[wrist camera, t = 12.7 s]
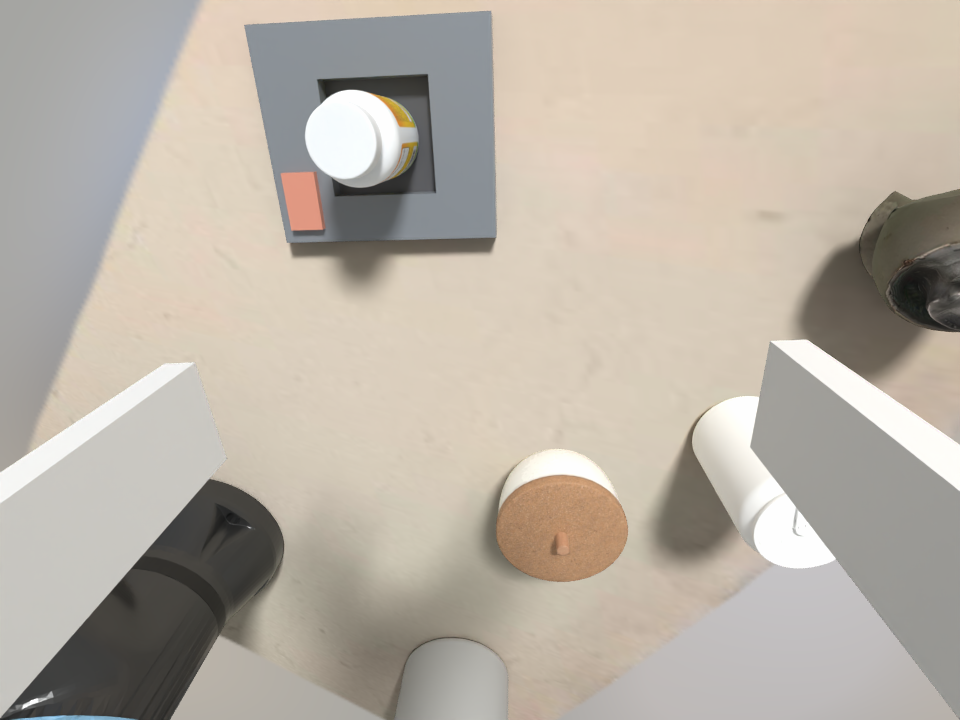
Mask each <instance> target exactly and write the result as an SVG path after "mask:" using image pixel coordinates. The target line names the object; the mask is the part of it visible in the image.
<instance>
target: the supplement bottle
mask: <svg viewBox="0 0 960 720" xmlns="http://www.w3.org/2000/svg"><path fill="white" fill-rule="evenodd" d="M305 141H306V146H307V150H308V152H309V155H310V157H311V159H312V160H313V162H314V163H315V164H316V166H317V167H318V168H319V169H320V170H321V171H323V172H324V173H325V174H327V175H329V176H331V177H332V178H333V179H335V180H336V181H338V182H339V183H342V184H344V185H347V186H350V187H357V188H364V187H370V186H374V185H377V184H379V183H382V182H384V181H387V180H390V179H392V178H395V177H397V176H399V175H401V174H402V173H404V172H405V171H406V170H407V169H408V168H409V167H410V166H411V165H412V163H413V162H414V160H415V158H416V155H417V152H418V147H419V135H418V130H417V127H416V124H415V122H414V120H413V118H412V116H411V115H410V113H409V112H408V111H407V110H406V109H405V108H404V107H403V106H402V105H401V104H399V103H398V102H396V101H394V100H392V99H390V98H387V97H383V96H379V95H375V94H372V93H368V92H364V91H359V90H344V91H340V92H337V93H335V94H333V95H331V96H330V97H328V98H327V99H326V100H325V101H324V102H323V103H322V104H321V105H320V106H319V107H317V108H316V109H315V110H314V111H313V112H312V114H311V115H310V117H309V119H308V122H307V125H306V129H305Z"/></svg>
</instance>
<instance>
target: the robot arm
mask: <svg viewBox="0 0 960 720" xmlns="http://www.w3.org/2000/svg"><path fill="white" fill-rule="evenodd" d="M750 448H751V449H752V451H753V452H754V453H755V454H756V456H757V457H758V458H759V460H760V461H761V462H762V464H763V465H764V466H765V467H766V469H767V470H768V471H769V473H770V474H771V475H772V477H773V478H774V479H775V480H776V482H777V483H778V484H779V486H780V487H781V488H782V490H783V491H784V492H785V493H786V495H787V496H788V497H789V499H790V500H791V501H792V503H793V504H794V505H795V506H796V508H797V509H798V510H799V512H800V513H801V514H802V516H803V517H804V518H805V519H806V521H807V522H808V523H809V525H810V526H811V527H812V529H813V530H814V531H815V532H816V534H817V535H818V536H819V538H820V539H821V540H822V542H823V543H824V544H825V545H826V547H827V548H828V549H829V551H830V552H831V553H832V555H833V556H834V557H835V558H836V560H837V561H838V562H839V564H840V565H841V566H842V567H843V569H844V570H845V571H846V573H847V574H848V575H849V577H850V578H851V579H852V580H853V582H854V583H855V584H856V586H857V587H858V588H859V590H860V591H861V592H862V594H863V595H864V596H865V597H866V599H867V600H868V601H869V603H870V604H871V605H872V606H873V608H874V609H875V610H876V612H877V613H878V614H879V616H880V617H881V618H882V620H883V621H884V622H885V623H886V625H887V626H888V627H889V629H890V630H891V631H892V632H893V634H894V635H895V636H896V638H897V639H898V640H899V642H900V643H901V644H902V645H903V647H904V648H905V649H906V651H907V652H908V653H909V654H910V656H911V657H912V659H913V660H914V661H915V662H916V664H917V665H918V666H919V668H920V669H921V670H922V672H923V673H924V674H925V675H926V677H927V678H928V679H929V681H930V682H931V683H932V685H933V686H934V687H935V688H936V690H937V691H938V692H939V694H940V695H941V696H942V697H943V699H944V700H945V701H946V703H947V704H948V705H949V707H950V708H951V709H952V711H953V712H954V713H955V714H956V716H957V717H958V718H959V720H960V445H959V444H958V443H956V442H955V441H953V440H952V439H951V438H949V437H948V436H946V435H945V434H943V433H942V432H940V431H939V430H938V429H936V428H935V427H933V426H932V425H930V424H929V423H927V422H926V421H924V420H923V419H922V418H920V417H919V416H917V415H916V414H914V413H913V412H911V411H910V410H908V409H907V408H906V407H904V406H903V405H901V404H900V403H898V402H897V401H895V400H894V399H892V398H891V397H890V396H888V395H887V394H885V393H884V392H882V391H881V390H879V389H878V388H877V387H875V386H874V385H872V384H871V383H869V382H868V381H866V380H865V379H863V378H862V377H861V376H859V375H858V374H856V373H855V372H853V371H852V370H850V369H849V368H847V367H846V366H845V365H843V364H842V363H840V362H839V361H837V360H836V359H834V358H833V357H832V356H830V355H829V354H827V353H826V352H824V351H823V350H821V349H820V348H818V347H817V346H816V345H814V344H813V343H811V342H810V341H808V340H782V341H770V344H769V349H768V354H767V360H766V365H765V370H764V376H763V381H762V386H761V391H760V397H759V402H758V407H757V412H756V418H755V423H754V428H753V434H752V439H751V444H750ZM226 459H227V457H226V454H225V451H224V448H223V445H222V442H221V439H220V436H219V433H218V430H217V427H216V424H215V421H214V418H213V415H212V412H211V409H210V406H209V403H208V400H207V397H206V394H205V391H204V388H203V385H202V382H201V379H200V376H199V373H198V370H197V367H196V364H195V363H169V364H163V365H162V366H160V367H159V368H157V369H156V370H154V371H153V372H151V373H150V374H148V375H147V376H145V377H144V378H142V379H141V380H139V381H138V382H136V383H135V384H133V385H132V386H130V387H129V388H127V389H126V390H124V391H123V392H121V393H120V394H118V395H117V396H115V397H114V398H112V399H111V400H109V401H107V402H106V403H104V404H103V405H101V406H100V407H98V408H97V409H95V410H94V411H92V412H91V413H89V414H88V415H86V416H85V417H83V418H82V419H80V420H79V421H77V422H76V423H74V424H73V425H71V426H70V427H68V428H67V429H65V430H64V431H62V432H61V433H59V434H58V435H56V436H55V437H53V438H52V439H50V440H49V441H47V442H46V443H44V444H43V445H41V446H40V447H38V448H37V449H35V450H34V451H32V452H31V453H29V454H28V455H26V456H25V457H23V458H21V459H20V460H18V461H17V462H15V463H14V464H12V465H11V466H10V467H8V468H7V469H5V470H4V471H2V472H0V720H170V719H171V717H172V715H173V714H174V712H175V710H176V708H177V707H178V705H179V703H180V701H181V700H182V698H183V696H184V695H185V693H186V691H187V689H188V687H189V686H190V684H191V682H192V681H193V679H194V677H195V675H196V674H197V672H198V670H199V669H200V667H201V665H202V663H203V662H204V660H205V658H206V656H207V655H208V653H209V651H210V649H211V648H212V646H213V644H214V643H215V640H216V639H217V637H218V636H219V634H220V632H221V631H222V629H223V627H224V625H225V624H226V622H227V621H228V620H229V619H230V618H231V617H233V616H234V615H235V614H236V613H237V612H238V611H239V610H240V609H241V608H242V607H243V606H244V605H245V604H246V603H247V602H248V601H249V600H250V599H251V598H252V597H253V596H254V595H256V594H257V593H258V592H260V591H261V590H262V589H263V588H264V587H265V586H266V585H267V584H268V582H269V581H270V580H271V578H272V576H273V575H274V573H275V571H276V569H277V567H278V565H279V564H280V562H281V559H282V556H283V549H284V544H283V538H282V534H281V531H280V529H279V527H278V525H277V523H276V521H275V520H274V518H273V517H272V515H271V514H270V513H269V512H268V511H267V509H266V508H265V507H264V506H263V505H262V504H260V503H259V502H258V501H257V500H255V499H254V498H253V497H251V496H250V495H248V494H247V493H245V492H243V491H242V490H240V489H238V488H236V487H233V486H231V485H228V484H226V483H223V482H219V481H215V480H211V479H209V478H210V477H211V476H212V475H213V474H214V473H215V472H216V470H217V469H218V468H219V467H220V466H221V465H222V464H223V462H224V461H225V460H226Z"/></svg>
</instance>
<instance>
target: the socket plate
mask: <svg viewBox="0 0 960 720" xmlns="http://www.w3.org/2000/svg"><path fill="white" fill-rule="evenodd" d="M244 26H245V31H246V36H247V41H248V47H249V52H250V57H251V62H252V67H253V72H254V77H255V82H256V87H257V92H258V97H259V103H260V108H261V113H262V118H263V123H264V128H265V133H266V138H267V143H268V148H269V153H270V159H271V164H272V169H273V174H274V179H275V184H276V189H277V194H278V199H279V204H280V210H281V215H282V220H283V225H284V230H285V235H286V240H287V243H296V242H337V241H377V240H417V239H457V238H496V235H497V219H496V173H495V127H494V81H493V35H492V13H491V11H479V12H462V13H444V14H427V15H410V16H392V17H375V18H357V19H340V20H322V21H305V22H287V23H270V24H252V25H244ZM344 90H359V91H364V92H368V93H372V94H375V95H379V96H383V97H387V98H390V99H392V100H394V101H396V102H398V103H399V104H401V105H402V106H403V107H404V108H405V109H406V110H407V111H408V112H409V113H410V115H411V116H412V118H413V120H414V122H415V124H416V127H417V130H418V135H419V147H418V152H417V155H416V158H415V160H414V162H413V163H412V165H411V166H410V167H409V168H408V169H407V170H406V171H405V172H404V173H402V174H401V175H399V176H397V177H395V178H392V179H390V180H387V181H384V182H382V183H379V184H377V185H374V186H370V187H364V188H357V187H350V186H347V185H344V184H342V183H339V182H338V181H336V180H335V179H333V178H332V177H331V176H329V175H327V174H325V173H324V172H323V171H321V170H320V169H319V168H318V167H317V166H316V164H315V163H314V162H313V160H312V159H311V157H310V155H309V152H308V150H307V146H306V141H305V129H306V125H307V122H308V119H309V117H310V115H311V114H312V112H313V111H314V110H315V109H316V108H317V107H319V106H320V105H321V104H322V103H323V102H324V101H325V100H326V99H327V98H328V97H330V96H331V95H333V94H335V93H337V92H340V91H344Z"/></svg>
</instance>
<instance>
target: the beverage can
mask: <svg viewBox="0 0 960 720" xmlns="http://www.w3.org/2000/svg"><path fill="white" fill-rule="evenodd" d="M758 402H759V397H755V396H741V397H735V398H731V399H728V400H725V401H723V402H721V403H719V404H717V405H715V406H714V407H712V408H711V409H710V410H708V411H707V412H706V413H705V414H704V415H703V416H702V417H701V419H700V420H699V422H698V423H697V425H696V427H695V429H694V432H693V437H692V446H693V451H694V453H695V455H696V457H697V459H698V461H699V463H700V464H701V466H702V468H703V470H704V471H705V473H706V475H707V477H708V478H709V480H710V482H711V484H712V486H713V487H714V489H715V491H716V493H717V494H718V496H719V498H720V500H721V501H722V503H723V505H724V507H725V509H726V510H727V512H728V514H729V516H730V517H731V519H732V521H733V523H734V525H735V526H736V528H737V530H738V532H739V533H740V535H741V537H742V538H743V540H744V541H745V542H746V543H747V544H748V545H749V546H750V547H751V548H752V549H753V550H755V551H756V552H758V553H760V554H761V555H762V556H763V557H764V558H765V559H767V560H768V561H770V562H772V563H774V564H776V565H779V566H783V567H789V568H810V567H816V566H819V565H823V564H826V563H829V562H831V561H834V560H836V558H835V557H834V556H833V555H832V553H831V552H830V551H829V549H828V548H827V547H826V545H825V544H824V543H823V542H822V540H821V539H820V538H819V536H818V535H817V534H816V532H815V531H814V530H813V529H812V527H811V526H810V525H809V523H808V522H807V521H806V519H805V518H804V517H803V516H802V514H801V513H800V512H799V510H798V509H797V508H796V506H795V505H794V504H793V503H792V501H791V500H790V499H789V497H788V496H787V495H786V493H785V492H784V491H783V490H782V488H781V487H780V486H779V484H778V483H777V482H776V480H775V479H774V478H773V477H772V475H771V474H770V473H769V471H768V470H767V469H766V467H765V466H764V465H763V464H762V462H761V461H760V460H759V458H758V457H757V456H756V454H755V453H754V452H753V451H752V449H751V448H750V444H751V439H752V434H753V428H754V423H755V418H756V412H757V407H758Z"/></svg>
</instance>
